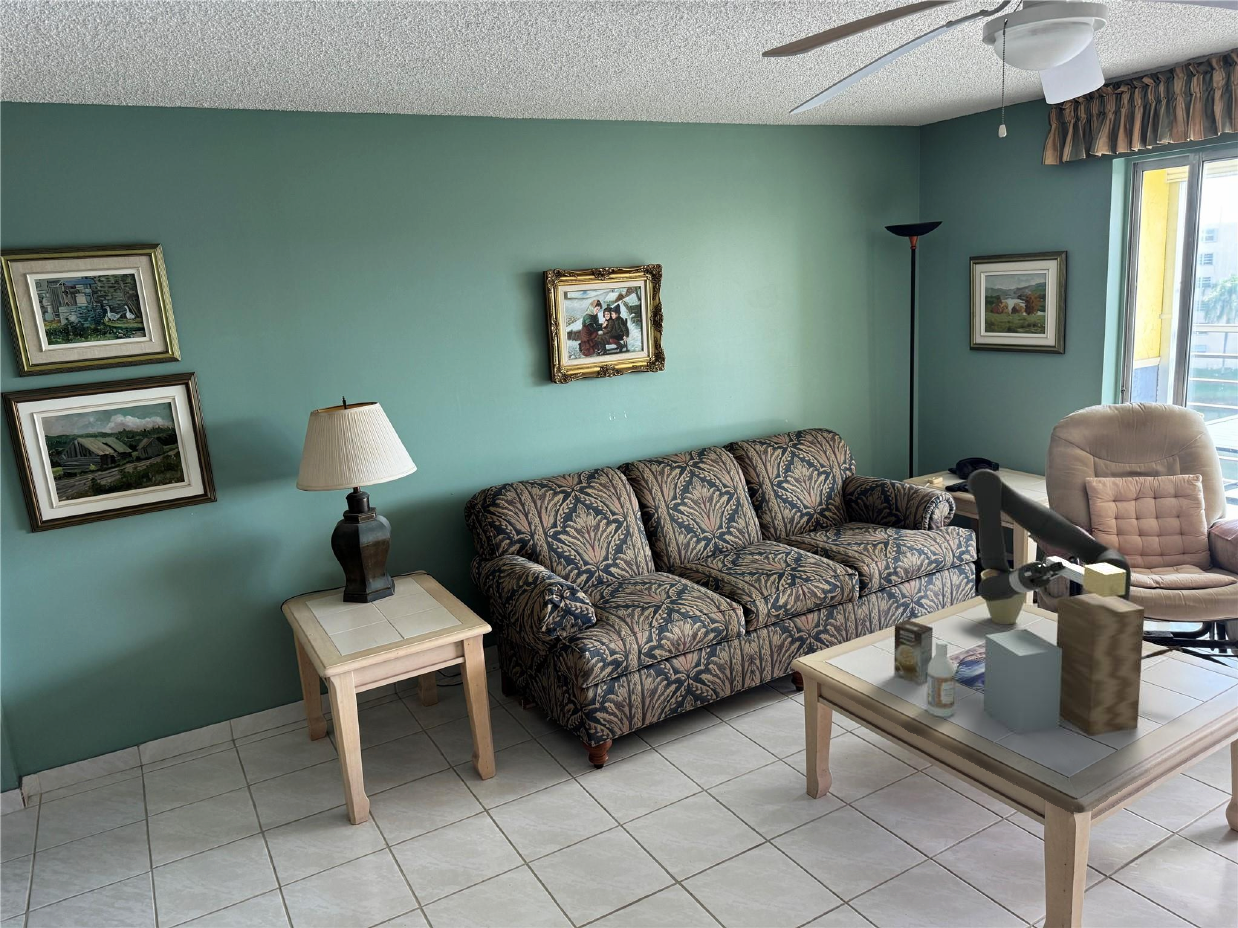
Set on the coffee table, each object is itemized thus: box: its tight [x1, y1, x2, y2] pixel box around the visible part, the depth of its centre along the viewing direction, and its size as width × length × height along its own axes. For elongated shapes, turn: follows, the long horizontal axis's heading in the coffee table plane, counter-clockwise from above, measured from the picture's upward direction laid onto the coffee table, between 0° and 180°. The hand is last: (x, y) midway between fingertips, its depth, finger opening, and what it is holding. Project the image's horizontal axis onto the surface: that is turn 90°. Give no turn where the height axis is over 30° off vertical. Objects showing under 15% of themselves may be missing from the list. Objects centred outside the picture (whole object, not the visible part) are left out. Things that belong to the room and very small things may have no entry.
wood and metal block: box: [1045, 555, 1126, 597], centre depth 227 cm, size 6×23×6 cm, turn 12°
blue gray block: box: [983, 628, 1062, 736], centre depth 229 cm, size 12×14×22 cm
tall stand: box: [1056, 592, 1145, 737], centre depth 225 cm, size 14×13×32 cm
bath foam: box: [926, 639, 956, 718], centre depth 235 cm, size 7×7×20 cm
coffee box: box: [893, 618, 934, 686], centre depth 256 cm, size 9×6×16 cm
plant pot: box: [980, 568, 1028, 625], centre depth 293 cm, size 15×15×16 cm
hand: (1067, 564), depth 232 cm, fingers closed on wood and metal block, 3 cm apart
